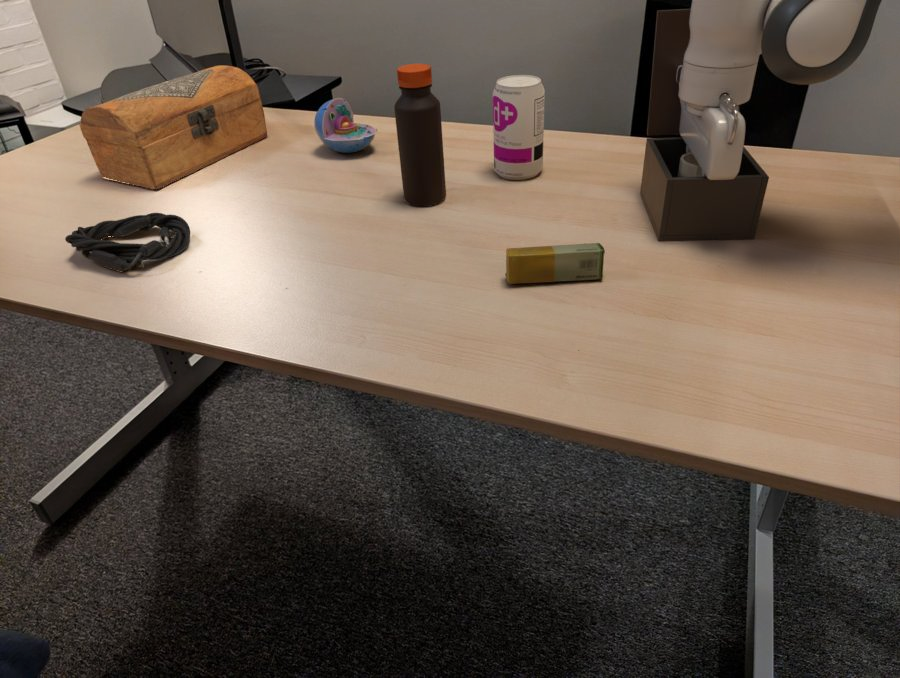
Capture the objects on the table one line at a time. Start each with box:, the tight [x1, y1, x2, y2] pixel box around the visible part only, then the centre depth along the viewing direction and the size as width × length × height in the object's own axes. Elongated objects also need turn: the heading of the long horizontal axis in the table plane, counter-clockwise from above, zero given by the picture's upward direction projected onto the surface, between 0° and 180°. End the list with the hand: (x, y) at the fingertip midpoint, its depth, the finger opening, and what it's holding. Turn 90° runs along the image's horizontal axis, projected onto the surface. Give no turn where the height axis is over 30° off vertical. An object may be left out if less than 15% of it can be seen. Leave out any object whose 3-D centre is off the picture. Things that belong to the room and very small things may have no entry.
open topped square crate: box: [639, 136, 770, 242], centre depth 92 cm, size 16×13×9 cm
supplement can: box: [492, 74, 546, 181], centre depth 107 cm, size 8×8×15 cm
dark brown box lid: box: [646, 8, 741, 136], centre depth 92 cm, size 16×13×1 cm
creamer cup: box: [678, 152, 702, 177], centre depth 91 cm, size 6×6×6 cm
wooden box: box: [78, 64, 268, 191], centre depth 123 cm, size 30×16×14 cm, turn 150°
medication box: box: [505, 242, 606, 285], centre depth 81 cm, size 12×3×4 cm, turn 93°
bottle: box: [393, 63, 447, 207], centre depth 99 cm, size 7×7×20 cm
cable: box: [64, 212, 191, 272], centre depth 95 cm, size 17×14×4 cm
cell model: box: [313, 97, 378, 154], centre depth 122 cm, size 10×12×10 cm
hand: (697, 185), depth 92 cm, fingers closed on creamer cup, 6 cm apart
